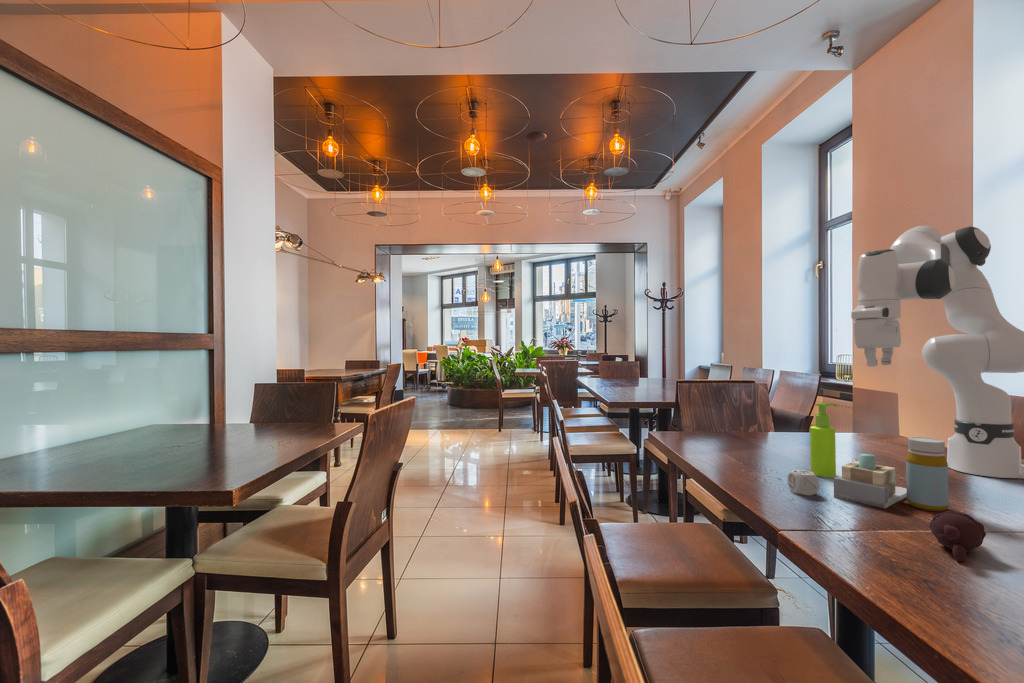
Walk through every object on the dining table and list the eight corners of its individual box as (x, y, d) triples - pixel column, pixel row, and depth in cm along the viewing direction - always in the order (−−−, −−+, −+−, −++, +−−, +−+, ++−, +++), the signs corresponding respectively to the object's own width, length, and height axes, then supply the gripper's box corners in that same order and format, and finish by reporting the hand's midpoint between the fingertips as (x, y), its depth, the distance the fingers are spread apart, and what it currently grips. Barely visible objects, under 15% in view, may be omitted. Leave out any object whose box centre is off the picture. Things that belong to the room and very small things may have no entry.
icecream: (927, 498, 92) (918, 525, 82) (979, 497, 87) (975, 526, 77) (940, 534, 91) (932, 566, 81) (993, 535, 86) (991, 570, 76)
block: (855, 485, 118) (855, 461, 118) (895, 493, 111) (895, 467, 111) (842, 491, 113) (841, 466, 113) (882, 499, 107) (882, 473, 107)
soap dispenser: (844, 477, 129) (843, 404, 130) (819, 477, 129) (818, 404, 130) (830, 471, 135) (829, 401, 135) (806, 471, 135) (805, 401, 136)
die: (819, 495, 114) (819, 475, 114) (798, 495, 114) (797, 475, 114) (807, 489, 119) (807, 469, 119) (787, 489, 119) (786, 469, 119)
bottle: (956, 513, 101) (955, 443, 102) (919, 511, 103) (918, 442, 103) (934, 502, 108) (933, 437, 108) (899, 500, 110) (898, 436, 110)
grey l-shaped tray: (864, 483, 123) (863, 466, 123) (912, 493, 115) (912, 475, 115) (833, 497, 113) (833, 478, 113) (884, 508, 105) (884, 488, 105)
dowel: (878, 493, 112) (876, 455, 112) (874, 496, 110) (873, 457, 110) (862, 490, 114) (860, 453, 115) (858, 493, 112) (856, 455, 113)
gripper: (879, 313, 130) (880, 363, 130) (848, 312, 119) (849, 366, 119) (907, 312, 125) (908, 364, 125) (878, 310, 114) (879, 367, 113)
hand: (879, 365), depth 122 cm, fingers open, 8 cm apart
